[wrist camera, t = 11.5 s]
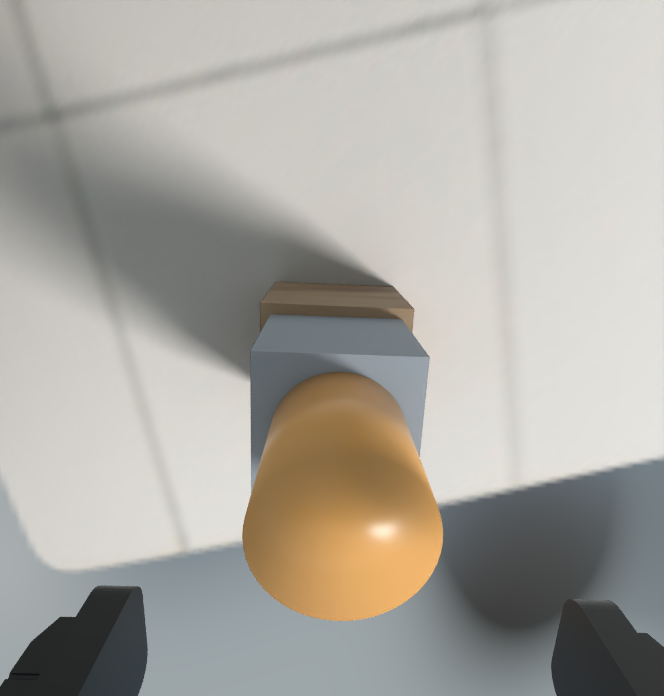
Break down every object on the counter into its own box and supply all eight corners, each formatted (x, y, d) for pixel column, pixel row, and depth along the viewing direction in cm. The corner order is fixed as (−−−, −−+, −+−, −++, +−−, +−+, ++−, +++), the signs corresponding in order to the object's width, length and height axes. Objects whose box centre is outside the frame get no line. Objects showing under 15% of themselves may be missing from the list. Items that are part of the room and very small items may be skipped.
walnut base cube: (275, 281, 28) (260, 302, 21) (393, 286, 28) (414, 309, 22) (274, 391, 30) (259, 443, 23) (384, 395, 30) (401, 448, 23)
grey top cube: (270, 314, 22) (250, 351, 16) (402, 318, 22) (429, 357, 16) (270, 434, 23) (251, 507, 17) (392, 438, 23) (414, 512, 18)
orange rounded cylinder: (269, 369, 16) (239, 447, 11) (411, 373, 16) (452, 452, 11) (270, 494, 17) (244, 619, 12) (401, 497, 17) (433, 622, 12)
